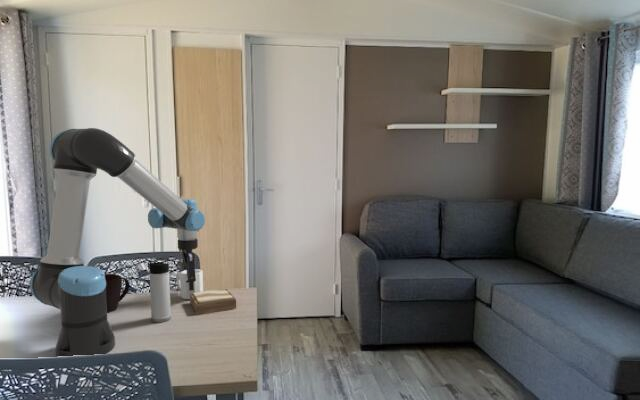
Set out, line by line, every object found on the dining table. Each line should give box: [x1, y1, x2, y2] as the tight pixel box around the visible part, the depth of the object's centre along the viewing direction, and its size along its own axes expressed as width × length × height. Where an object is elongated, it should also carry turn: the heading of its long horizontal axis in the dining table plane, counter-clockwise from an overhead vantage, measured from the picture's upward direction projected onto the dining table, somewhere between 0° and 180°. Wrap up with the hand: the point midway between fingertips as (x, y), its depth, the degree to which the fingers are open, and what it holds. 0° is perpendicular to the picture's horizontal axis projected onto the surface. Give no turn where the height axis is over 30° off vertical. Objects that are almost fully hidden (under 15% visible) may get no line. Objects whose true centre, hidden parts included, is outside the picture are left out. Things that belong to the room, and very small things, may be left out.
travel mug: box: [148, 262, 172, 324], centre depth 149 cm, size 6×7×20 cm
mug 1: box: [104, 273, 130, 314], centre depth 159 cm, size 10×14×12 cm
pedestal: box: [189, 288, 237, 316], centre depth 163 cm, size 14×14×4 cm
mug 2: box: [176, 268, 204, 300], centre depth 174 cm, size 12×9×10 cm
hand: (189, 294), depth 174 cm, fingers closed on mug 2, 9 cm apart
